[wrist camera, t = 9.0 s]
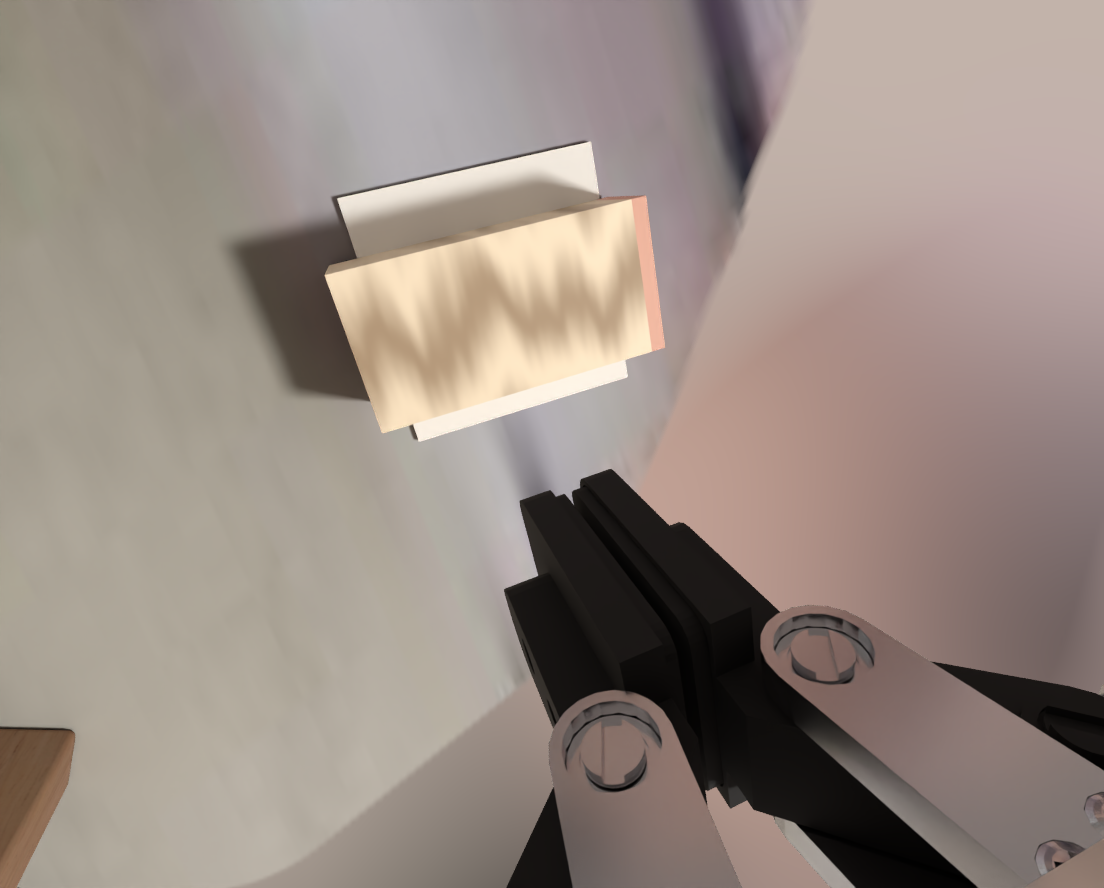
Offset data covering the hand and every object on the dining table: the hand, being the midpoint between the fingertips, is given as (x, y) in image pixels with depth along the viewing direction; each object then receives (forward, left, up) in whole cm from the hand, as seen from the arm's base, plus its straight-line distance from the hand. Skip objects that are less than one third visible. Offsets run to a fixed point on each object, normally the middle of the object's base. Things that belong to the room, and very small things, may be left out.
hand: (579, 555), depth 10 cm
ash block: (0, -4, -23) cm, 24 cm away
